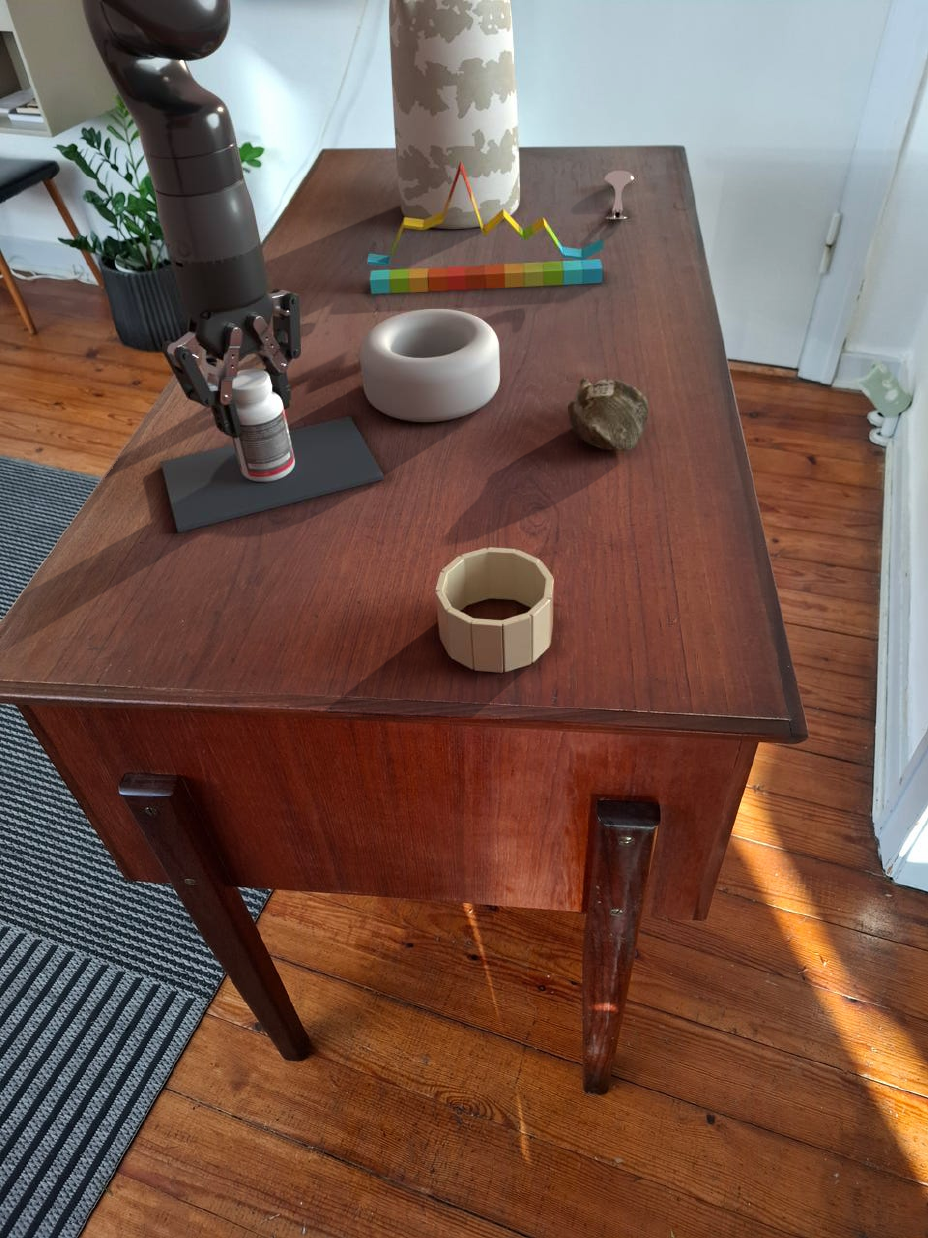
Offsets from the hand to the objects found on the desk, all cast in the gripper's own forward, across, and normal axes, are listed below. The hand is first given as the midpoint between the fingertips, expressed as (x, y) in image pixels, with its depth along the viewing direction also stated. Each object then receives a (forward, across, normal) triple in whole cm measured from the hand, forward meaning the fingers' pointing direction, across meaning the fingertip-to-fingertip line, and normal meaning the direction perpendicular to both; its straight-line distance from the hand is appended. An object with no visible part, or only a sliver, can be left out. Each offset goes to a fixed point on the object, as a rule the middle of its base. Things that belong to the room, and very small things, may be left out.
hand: (256, 419), depth 85 cm
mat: (+6, 0, 0) cm, 6 cm away
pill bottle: (+6, 0, 0) cm, 6 cm away
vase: (+6, -66, -30) cm, 73 cm away
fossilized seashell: (+6, -25, +23) cm, 35 cm away
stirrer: (+6, -80, -9) cm, 80 cm away
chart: (+6, -47, -10) cm, 48 cm away
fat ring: (+6, -21, +3) cm, 23 cm away
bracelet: (+6, +4, +32) cm, 33 cm away
